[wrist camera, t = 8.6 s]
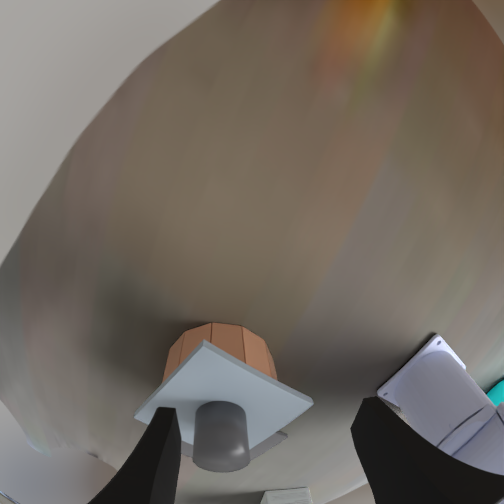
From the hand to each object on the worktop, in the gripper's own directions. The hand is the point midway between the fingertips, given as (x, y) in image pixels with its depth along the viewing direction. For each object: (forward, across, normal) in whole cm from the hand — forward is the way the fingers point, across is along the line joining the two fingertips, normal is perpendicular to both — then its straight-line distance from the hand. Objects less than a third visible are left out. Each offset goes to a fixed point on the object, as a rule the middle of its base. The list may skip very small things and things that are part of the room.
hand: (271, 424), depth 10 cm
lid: (+6, +2, +6) cm, 9 cm away
